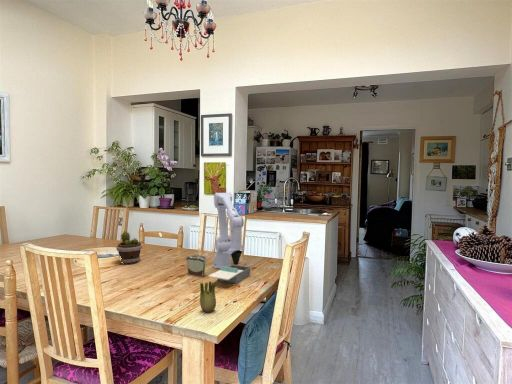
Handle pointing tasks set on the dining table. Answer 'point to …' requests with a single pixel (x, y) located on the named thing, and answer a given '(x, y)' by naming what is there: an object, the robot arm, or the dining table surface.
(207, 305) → the fennel bulb
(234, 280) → the grey sliding-lid box
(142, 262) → the dining table surface
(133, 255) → the flowerpot
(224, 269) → the lid
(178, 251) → the dining table surface
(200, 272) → the food container
